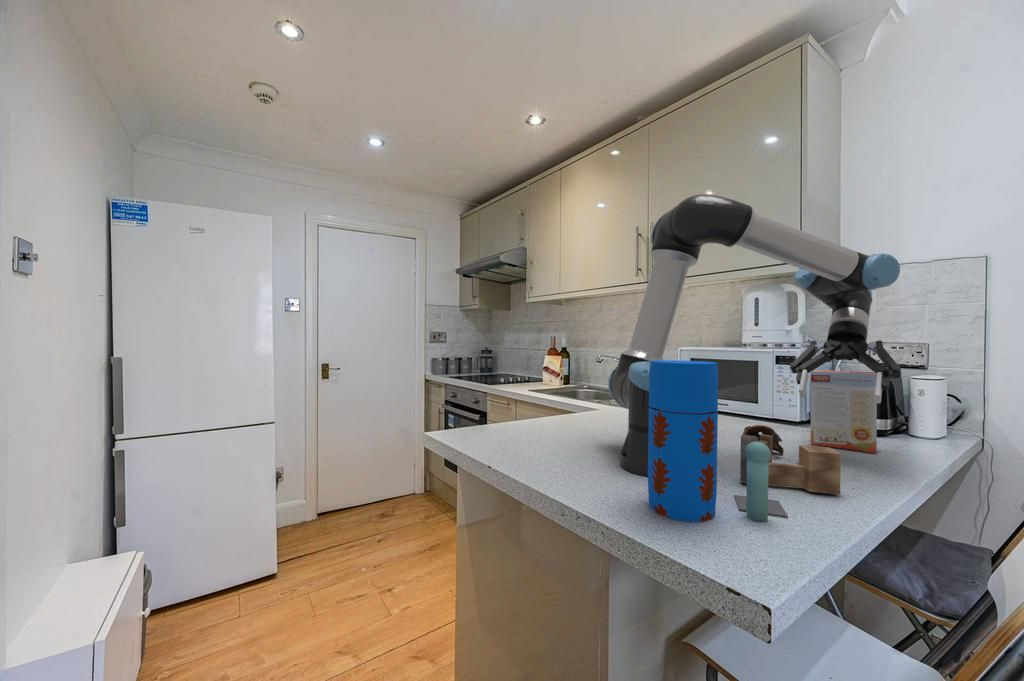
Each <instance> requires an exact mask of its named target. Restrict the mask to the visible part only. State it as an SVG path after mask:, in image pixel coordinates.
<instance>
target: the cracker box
mask: <svg viewBox="0 0 1024 681" xmlns="http://www.w3.org/2000/svg"><path fill="white" fill-rule="evenodd" d="M876 380H877V374H876V373H875V372H874V371H872V372H870V371H853V370H852V371H849V370H847V371H845V370H826V369H825V370H823V369H818V370H817V369H814V370H813V371H811V372H810V445H812V444H814V445H813V446H818V445H821V446H820V447H825V446H828V447H829V448H833V447H836V448H835V449H841V448H842V450H848V449H850V451H854V450H856V452H861V451H862V452H861V453H868V452H869V453H870V454H877V449H878V448H877V447H878V446H877V441H878V440H877V439H878V438H877V437H878V432H877V430H878V429H877V423H878V422H877V417H878V416H877V415H878V408H877V406H878V403H876V399H875V390H876Z"/></svg>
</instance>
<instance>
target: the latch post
mask: <svg viewBox="0 0 1024 681" xmlns="http://www.w3.org/2000/svg"><path fill="white" fill-rule="evenodd" d="M745 455H746V457H747V483H746V496H747V498H746V512H745V514H746V515H745V516H746V518H748V519H749V518H750V520H752V521H756V522H760V521H761V522H762V523H763V521H765V522H767V521H768V520H769V519H768V518H769V517H768V516H769V515H768V499H769V485H768V464H769V459H770V457H771V452H770V449H769V448H768V447H767V446H766V445H765V444H764V443H761V442H751V443H749V444H748V445H747V446H746V449H745Z"/></svg>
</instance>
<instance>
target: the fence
mask: <svg viewBox="0 0 1024 681" xmlns="http://www.w3.org/2000/svg"><path fill="white" fill-rule="evenodd" d="M760 434H761V435H760V441H758V442H761V443H764V444H765V445H766V446H767V447H768V448H769V449H770V452H771V457H770V459H769V463H773V450H772V444H773V436H772V435H765V434H762V433H760Z"/></svg>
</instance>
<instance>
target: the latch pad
mask: <svg viewBox="0 0 1024 681" xmlns="http://www.w3.org/2000/svg"><path fill="white" fill-rule="evenodd" d="M733 497H734V500H735V502H736V506H737V508H739V509H738V512H745V513H746V498H747V495H739V494H734V495H733ZM771 515H774V516H773V517H778V516H780V517H779V518H786V517H787V518H786V519H789V515H788V514H787V512H786V510H785V508H784V507H783V505H782V504H781V502H780V501H779V500H775V499H769V498H768V516H771Z"/></svg>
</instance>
